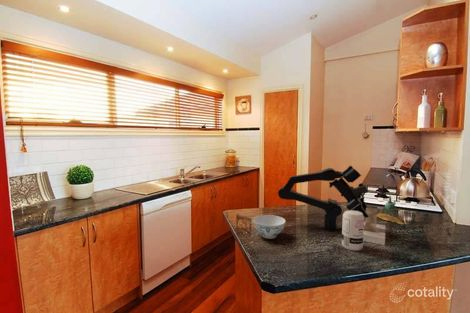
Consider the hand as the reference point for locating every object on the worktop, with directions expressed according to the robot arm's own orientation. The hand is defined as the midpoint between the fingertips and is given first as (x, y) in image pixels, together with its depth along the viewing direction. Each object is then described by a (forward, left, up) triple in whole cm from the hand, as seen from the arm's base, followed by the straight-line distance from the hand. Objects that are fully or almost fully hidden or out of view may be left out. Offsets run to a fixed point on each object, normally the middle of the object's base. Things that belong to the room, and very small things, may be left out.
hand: (368, 214), depth 119 cm
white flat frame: (+1, -1, -10) cm, 10 cm away
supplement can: (-18, -3, -10) cm, 21 cm away
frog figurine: (+31, +5, -10) cm, 33 cm away
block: (+1, -1, -10) cm, 10 cm away
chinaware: (-39, +26, -10) cm, 48 cm away
